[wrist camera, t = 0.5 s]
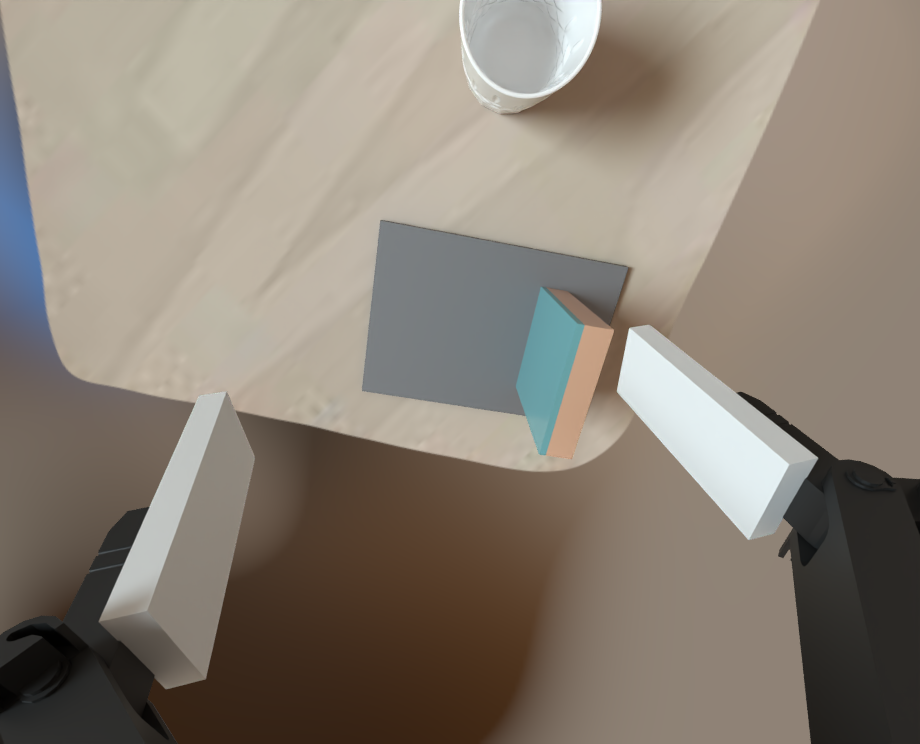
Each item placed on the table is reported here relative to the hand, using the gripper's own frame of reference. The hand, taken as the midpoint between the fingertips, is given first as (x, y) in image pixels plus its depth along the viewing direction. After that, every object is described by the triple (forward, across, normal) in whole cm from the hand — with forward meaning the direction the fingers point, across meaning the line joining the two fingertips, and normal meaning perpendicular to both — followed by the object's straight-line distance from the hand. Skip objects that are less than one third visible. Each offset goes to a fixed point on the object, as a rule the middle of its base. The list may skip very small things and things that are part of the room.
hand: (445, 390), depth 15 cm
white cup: (+28, +11, +9) cm, 31 cm away
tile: (+22, +13, -12) cm, 28 cm away
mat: (+24, +8, -11) cm, 27 cm away
